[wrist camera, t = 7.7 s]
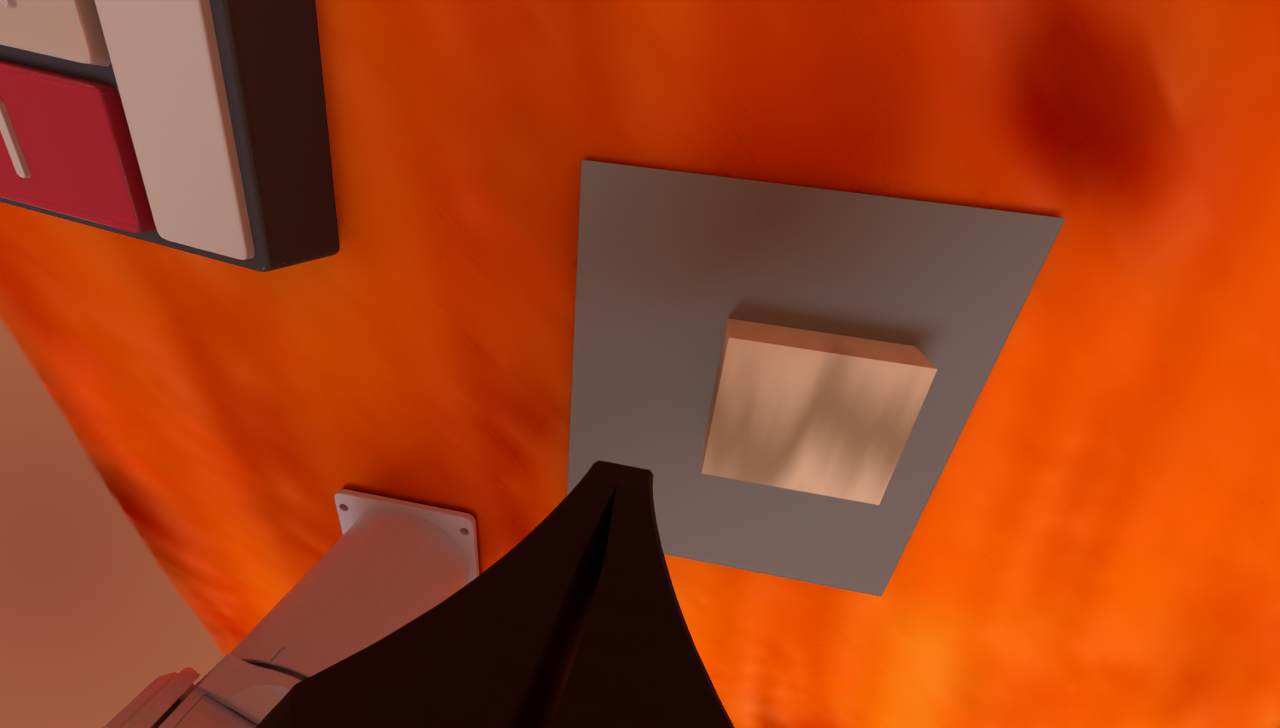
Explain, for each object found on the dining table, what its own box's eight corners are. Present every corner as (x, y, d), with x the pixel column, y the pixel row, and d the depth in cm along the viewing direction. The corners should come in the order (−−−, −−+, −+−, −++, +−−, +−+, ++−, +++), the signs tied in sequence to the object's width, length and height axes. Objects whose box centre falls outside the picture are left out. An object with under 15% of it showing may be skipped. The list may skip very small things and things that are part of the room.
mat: (878, 589, 23) (881, 596, 23) (567, 528, 25) (565, 534, 24) (1057, 216, 15) (1065, 218, 15) (584, 159, 17) (581, 159, 16)
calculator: (-298, -227, 13) (168, -146, 11) (-59, -140, 17) (313, -72, 15) (-96, 187, 18) (250, 281, 16) (54, 180, 22) (344, 256, 20)
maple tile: (702, 444, 21) (864, 473, 20) (701, 473, 19) (879, 505, 18) (727, 318, 18) (915, 346, 17) (729, 337, 16) (937, 369, 16)
